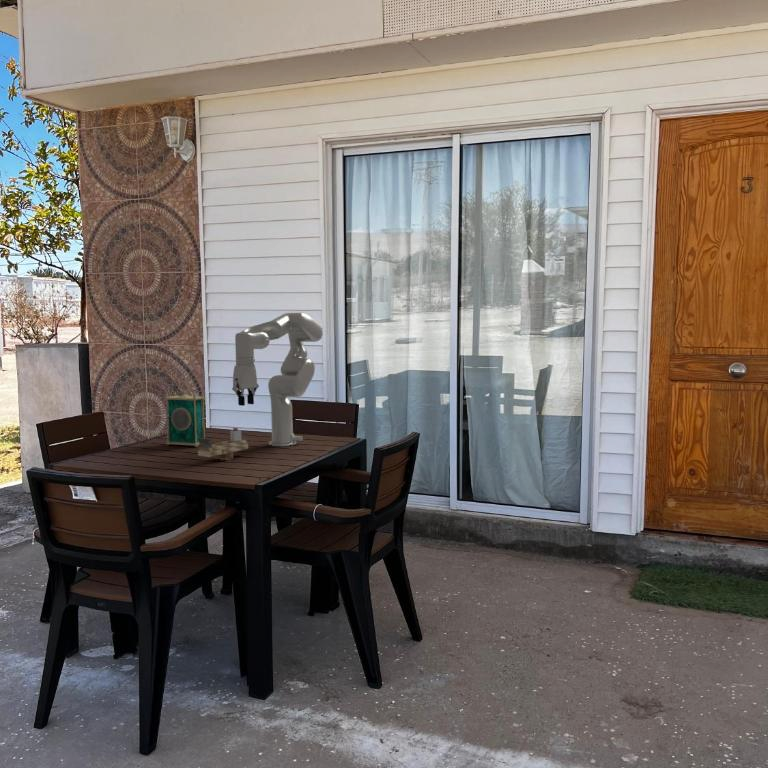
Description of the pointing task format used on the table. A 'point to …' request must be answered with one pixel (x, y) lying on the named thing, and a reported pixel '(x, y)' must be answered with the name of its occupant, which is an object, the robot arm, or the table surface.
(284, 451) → the table surface
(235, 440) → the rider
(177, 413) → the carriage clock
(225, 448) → the beam
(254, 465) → the table surface
